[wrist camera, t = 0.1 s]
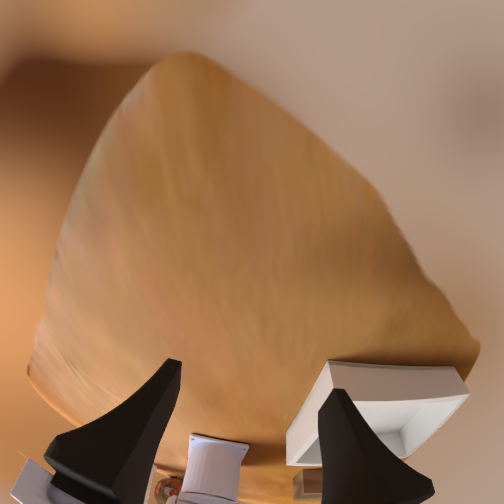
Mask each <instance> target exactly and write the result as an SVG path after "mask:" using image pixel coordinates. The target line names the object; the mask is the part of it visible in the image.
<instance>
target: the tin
mask: <svg viewBox="0 0 504 504" xmlns="http://www.w3.org/2000/svg"><path fill="white" fill-rule="evenodd" d="M182 485H183V480H181V479H178V478H165V479H162V480H161V481H159V482H158V484H157V485H156V488H155V493H154V496H155V500H156V502H157V504H166V502H167V500H168V498H169V497H172V496H173V495H175V496H178V495H179V492H181V489H182Z"/></svg>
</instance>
